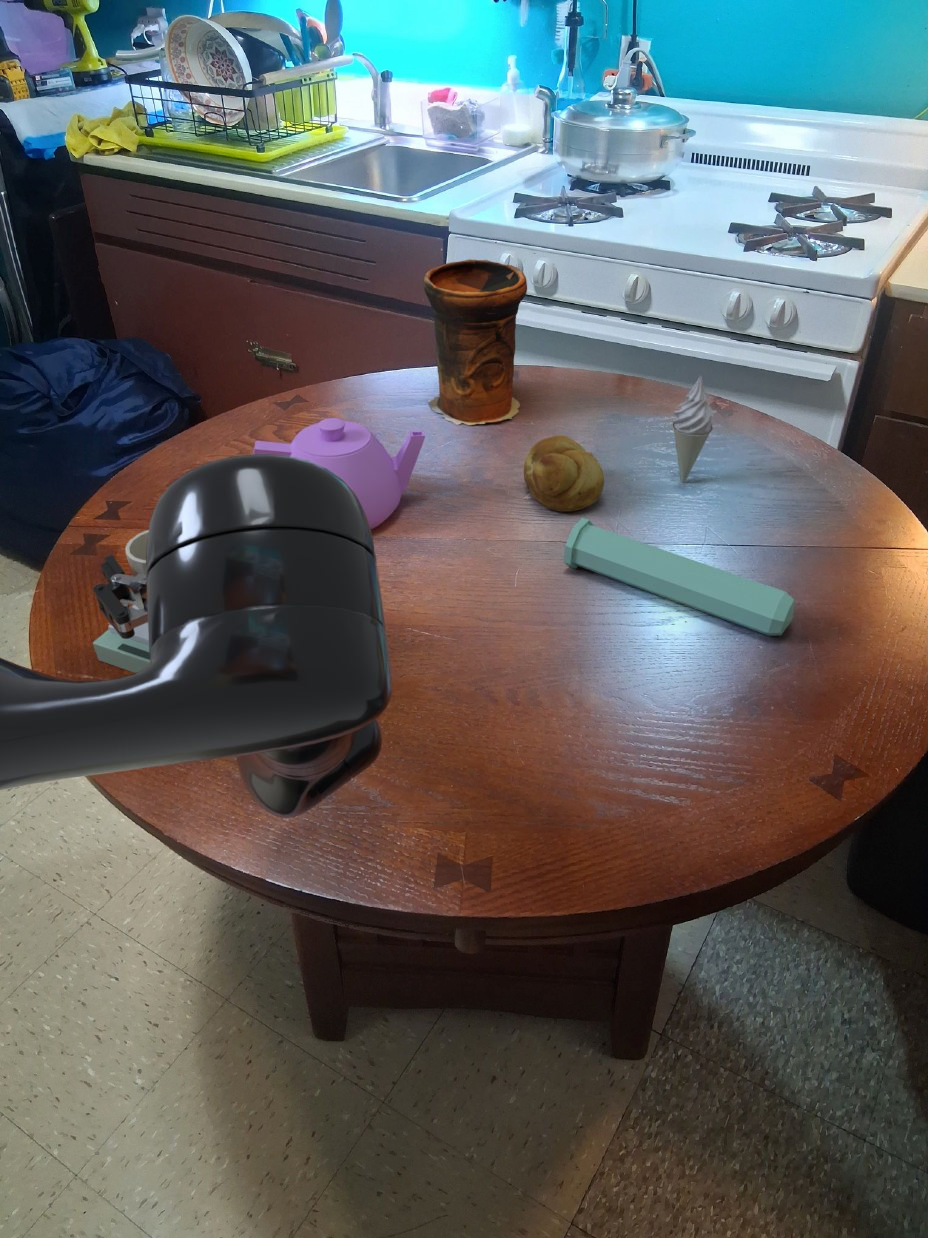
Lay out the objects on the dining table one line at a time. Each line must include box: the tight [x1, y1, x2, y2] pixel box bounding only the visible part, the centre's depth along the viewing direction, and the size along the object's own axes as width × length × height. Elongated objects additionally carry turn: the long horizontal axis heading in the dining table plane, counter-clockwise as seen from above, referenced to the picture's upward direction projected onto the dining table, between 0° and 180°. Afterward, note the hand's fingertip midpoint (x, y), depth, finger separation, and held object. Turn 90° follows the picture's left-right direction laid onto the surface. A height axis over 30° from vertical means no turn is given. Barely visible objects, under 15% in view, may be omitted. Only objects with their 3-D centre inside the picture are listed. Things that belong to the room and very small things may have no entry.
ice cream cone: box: [671, 374, 715, 484], centre depth 111 cm, size 5×5×15 cm
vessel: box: [423, 258, 528, 426], centre depth 127 cm, size 14×14×20 cm
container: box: [563, 517, 796, 637], centre depth 95 cm, size 6×6×25 cm
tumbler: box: [124, 529, 149, 623], centre depth 86 cm, size 6×6×9 cm
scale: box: [92, 605, 150, 674], centre depth 90 cm, size 12×12×3 cm
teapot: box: [252, 417, 426, 530], centre depth 107 cm, size 22×16×12 cm
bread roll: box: [523, 434, 605, 513], centre depth 111 cm, size 13×10×8 cm
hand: (153, 548), depth 86 cm, fingers open, 8 cm apart
